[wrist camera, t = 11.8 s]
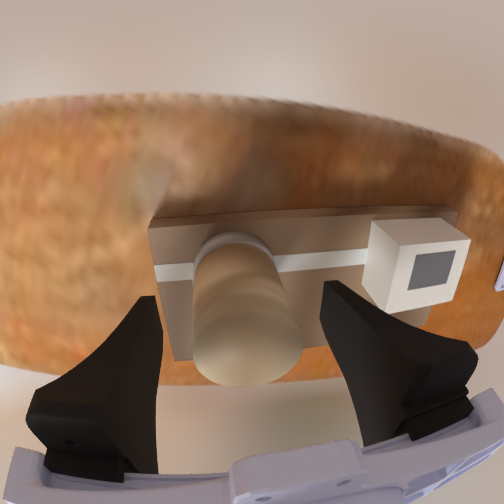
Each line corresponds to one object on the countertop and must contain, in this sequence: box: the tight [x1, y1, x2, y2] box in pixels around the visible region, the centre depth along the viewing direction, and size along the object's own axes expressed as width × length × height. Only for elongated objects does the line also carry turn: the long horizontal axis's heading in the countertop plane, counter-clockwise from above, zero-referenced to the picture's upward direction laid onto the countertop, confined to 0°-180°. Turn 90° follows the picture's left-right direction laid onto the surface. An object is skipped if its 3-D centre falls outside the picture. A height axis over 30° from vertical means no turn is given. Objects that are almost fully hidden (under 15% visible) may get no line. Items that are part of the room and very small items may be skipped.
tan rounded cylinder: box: [193, 231, 304, 388], centre depth 14 cm, size 4×4×6 cm
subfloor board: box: [148, 205, 458, 361], centre depth 18 cm, size 18×9×1 cm, turn 91°
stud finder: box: [361, 218, 471, 314], centre depth 16 cm, size 5×4×3 cm
